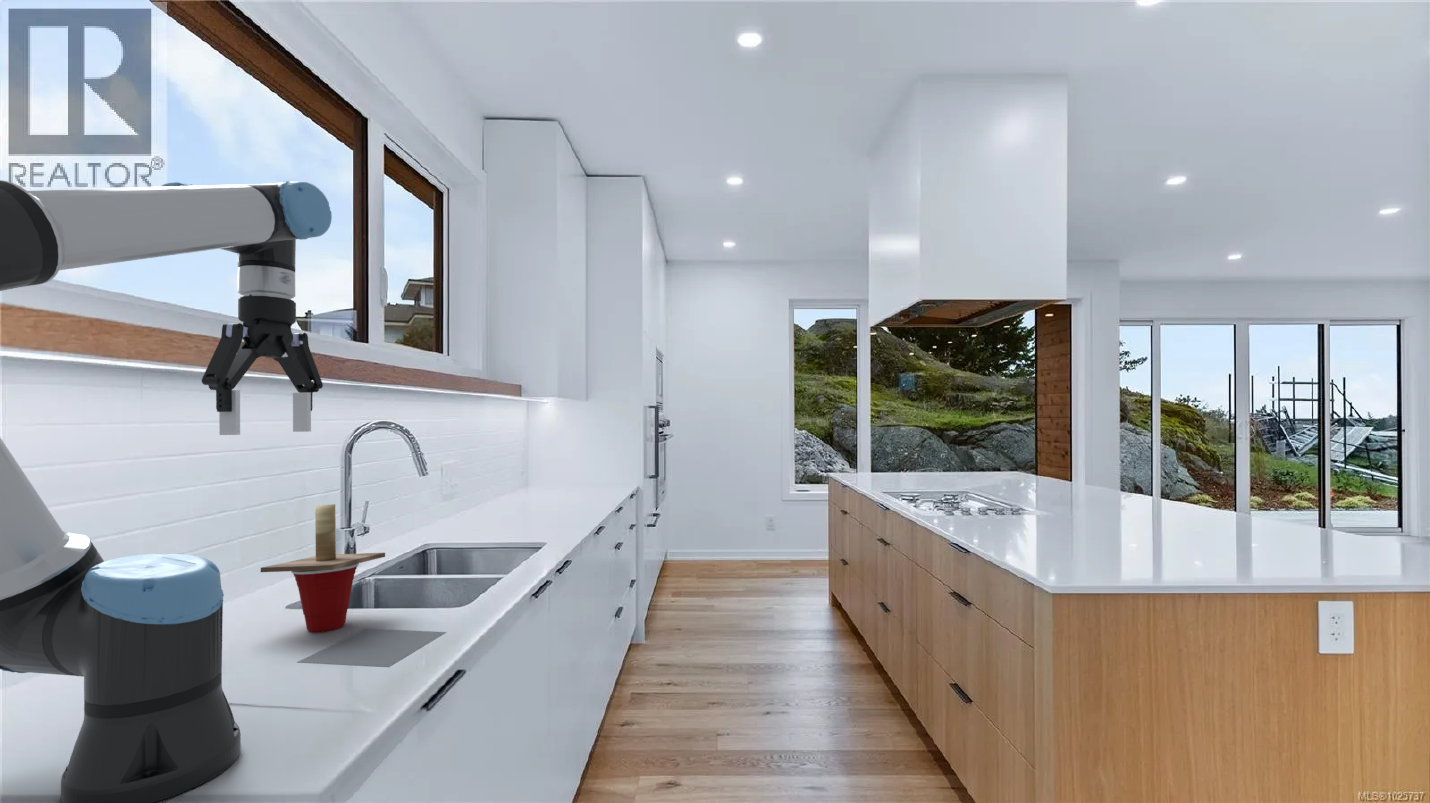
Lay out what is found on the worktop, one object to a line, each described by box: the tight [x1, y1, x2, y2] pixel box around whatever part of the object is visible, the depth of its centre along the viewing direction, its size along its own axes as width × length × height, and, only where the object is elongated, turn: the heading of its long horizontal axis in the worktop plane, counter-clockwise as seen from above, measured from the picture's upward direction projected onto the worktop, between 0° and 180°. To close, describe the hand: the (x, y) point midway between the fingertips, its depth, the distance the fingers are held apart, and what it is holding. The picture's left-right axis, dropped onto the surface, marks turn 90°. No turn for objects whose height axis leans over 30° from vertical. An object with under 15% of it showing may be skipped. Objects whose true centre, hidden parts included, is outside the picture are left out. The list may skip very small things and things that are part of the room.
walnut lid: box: [260, 504, 386, 573], centre depth 121 cm, size 14×14×11 cm
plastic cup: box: [290, 563, 360, 634], centre depth 121 cm, size 11×11×12 cm
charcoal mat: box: [296, 628, 447, 668], centre depth 110 cm, size 16×16×1 cm
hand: (268, 433), depth 103 cm, fingers open, 13 cm apart
